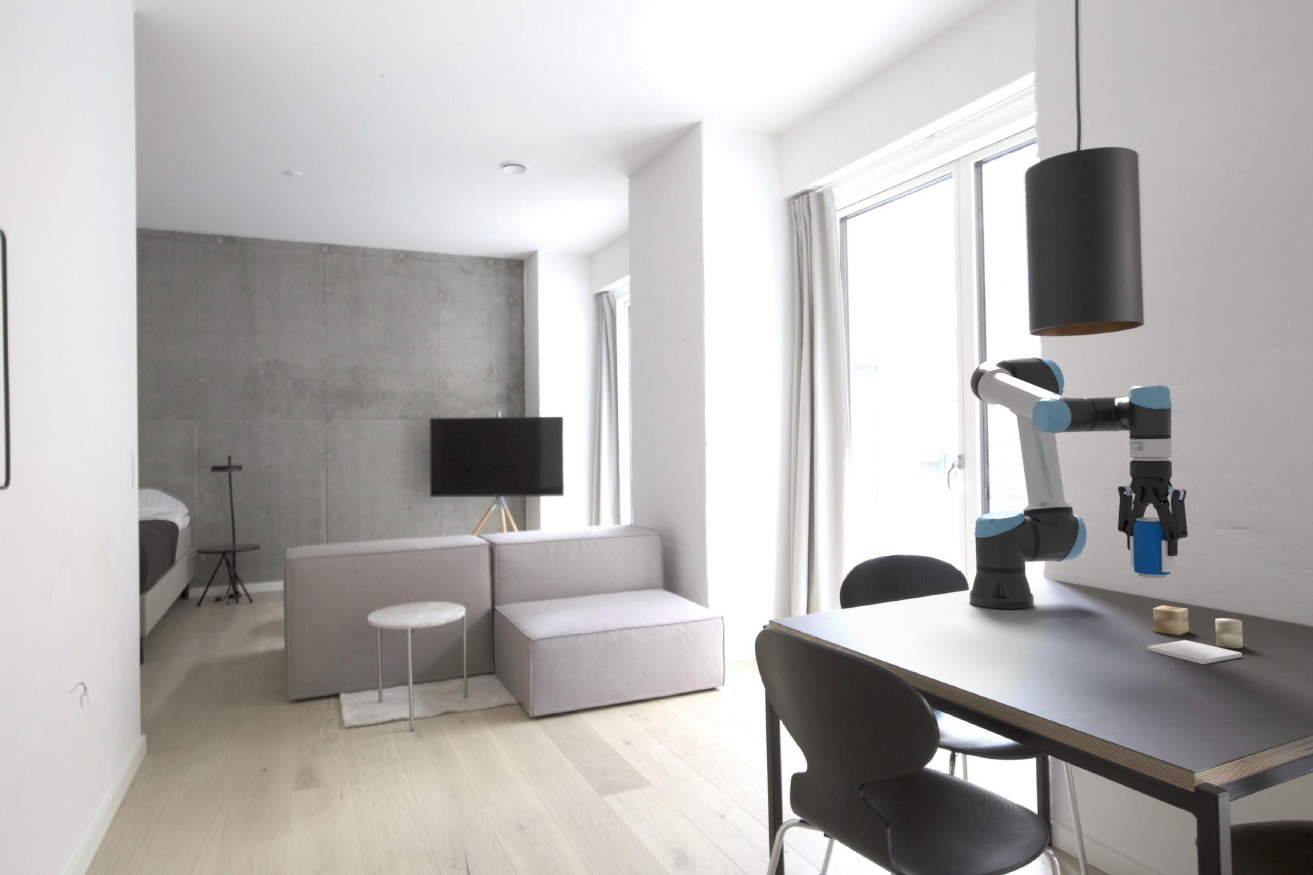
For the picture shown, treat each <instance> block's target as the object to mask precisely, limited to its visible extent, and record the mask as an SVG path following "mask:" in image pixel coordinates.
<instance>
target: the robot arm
mask: <svg viewBox="0 0 1313 875" xmlns="http://www.w3.org/2000/svg"><path fill="white" fill-rule="evenodd" d="M970 388H971V391H972V393H973V395H974V396H975V397H976V398H977V399H978V400H980V401H982V402H984V403H986V404H989V405H995V406H996V405H1000V406H1002V407H1004V408H1007V409H1009V411H1010V413H1012V414H1014V415H1015V416H1016V420H1017V421H1016V422H1017V428H1018V435H1019V444H1020V449H1021V451H1020V452H1021V459H1022V464H1023V465H1022V466H1023V473H1024V480H1025V488H1026V495H1027V503H1028V504H1027V505H1026V507H1025V508H1024V509H1023V510H1022V511H1019V510H1006V511H1005V510H1003V511H1002V510H1001V511H995V512H989V513H985V514H982V515H980V516H978V517H977V518H976V520H975V526H974V527H975V528H974V536H975V537H974V538H975V541H974V542H975V564H976V565H975V567H976V570H975V571H976V572H975V575H974V578H973V584H972V589H971V590H970V592H969V603H970V604H972V605H974V606H978V607H982V608H987V609H995V610H996V609H997V610H1022V609H1023V610H1024V609H1029V608H1033V607H1034V605H1035V603H1034V602H1035V601H1034V600H1035V598H1034V593H1031V592H1032V591H1031V587H1030V584H1029V580H1028V578H1027V575H1026V574H1027V573H1026V563H1030V562H1031V563H1034V562H1038V563H1039V562H1062V561H1071V560H1072V561H1073V560H1075V559H1076V558H1078V557H1079V556H1081V554H1082V552H1083V550H1084V549H1085V547H1086V544H1087V539H1088V538H1087V536H1088V534H1087V526H1086V522H1085V521H1083V518H1082V517H1081V516H1080V515H1078V514H1074V510H1073V506H1072V505H1071V504H1069V503H1068V502H1067V501H1066V500H1065V494H1064V493H1065V492H1064V485H1063V479H1062V474H1061V473H1062V472H1061V465H1060V459H1059V452H1058V445H1057V444H1058V443H1057V438H1056V434H1060V433H1079V432H1080V433H1082V432H1083V433H1084V432H1086V433H1087V432H1089V433H1091V432H1113V433H1115V432H1129V457H1130V458H1132V460H1130V462H1129V477H1130V478H1131V482H1130V484H1129V485H1121V486H1120V485H1119V486H1118V488H1117V490H1118V495H1119V504H1118V520H1117V530H1118V532H1120V533H1121V532H1122V533H1124V534H1125V535H1126V542H1127V543H1126V548H1127V550H1128V551H1129V562H1130V568H1134V523H1135V521H1136V518H1142V517H1144V516H1145V514H1146V510H1147V507H1148V506H1149V505H1150V504H1151V505H1152V507H1153V508H1154V509H1155V510H1156V513H1157V516H1158V517H1157V518H1159V520H1160V523H1161V526H1162V529H1163V532H1164V535H1165V538H1164V539H1163V540H1162V572H1170V573H1171V572H1175V570H1176V569H1175V563H1176V562H1175V557H1177V556H1178V553H1179V551H1178V550H1179V548H1178V547H1179V546H1178V545H1179V543H1178V542H1179V540H1181V539H1185V538H1188V534H1189V533H1188V524H1187V523H1188V522H1187V516H1186V515H1187V513H1186V505H1185V500H1186V496H1187V491H1186V489H1183V488H1181V489H1179V488H1177V487H1176V488H1175V487H1173V485H1172V483H1171V478H1172V476H1173V466H1172V465H1173V463H1172V461H1171V460H1169V459H1170V458H1172V457H1173V451H1172V450H1173V449H1172V445H1173V444H1172V407H1173V406H1172V405H1173V404H1172V402H1171V390H1170V388H1169V387H1168V386H1166V385H1140V386H1139V385H1138V386H1131V387H1130V388H1129V389H1128V395H1127V396H1110V397H1077V398H1076V397H1066V396H1063V393H1064V388H1065V379H1064V375H1063V372H1062V369H1061V367H1060V366H1059V365H1058V363H1056V362H1055V361H1054V360H1053V359H1051V358H1050V359H1049V358H1047V357H1046V358H1043V357H1023V358H1017V357H1016V358H992V359H990V360H987V361H984V362H982V363H981V364H980V365H979V366H977V367H976V368H975V370H973V373H972V375H971V378H970ZM1133 496H1134V497H1133ZM1169 498H1170V500H1169Z"/></svg>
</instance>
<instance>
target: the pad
mask: <svg viewBox="0 0 1313 875" xmlns="http://www.w3.org/2000/svg"><path fill="white" fill-rule="evenodd" d="M1147 651H1150V652H1153V653H1156V654H1160V655H1165V656H1168V657H1169V656H1170V657H1173V658H1176V659H1180V660H1185V661H1188V662H1191V663H1197V664H1200V665H1205V664H1206V665H1207V664H1212V663H1217V662H1222V661H1227V660H1233V659H1239V658H1242V657H1243V656H1242V655H1243V653H1242V652H1240V651H1235V650H1232V649H1231V650H1230V649H1226V648H1224V647H1218V646H1212V645H1209V644H1204V643H1200V642H1195V641H1191V640H1187V639H1183V640H1179V641H1177V640H1176V641H1171V642H1165V643H1161V644H1160V643H1159V644H1153V645H1148V646H1147Z"/></svg>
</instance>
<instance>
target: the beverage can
mask: <svg viewBox="0 0 1313 875" xmlns="http://www.w3.org/2000/svg"><path fill="white" fill-rule="evenodd" d="M1164 538H1165V535H1164V532H1163V529H1162V526H1161V523H1160V520H1159V517H1142V518H1136V521H1135V523H1134V567H1133V572H1134V573H1135V574H1137V575H1138V576H1139V577H1143V578H1151V579H1164V578H1167V576H1169V575H1171V572H1162V540H1163V539H1164Z"/></svg>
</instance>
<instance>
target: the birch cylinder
mask: <svg viewBox="0 0 1313 875" xmlns="http://www.w3.org/2000/svg"><path fill="white" fill-rule="evenodd" d="M1214 620H1215V625H1214V626H1215V644H1216V646H1217V647H1218V646H1219V647H1220V648H1228V649H1241V648H1244V643H1243V642H1244V641H1243V637H1244V636H1243V621H1242V620H1239V619H1235V618H1226V617H1225V618H1222V617H1221V618H1215V619H1214Z"/></svg>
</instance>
